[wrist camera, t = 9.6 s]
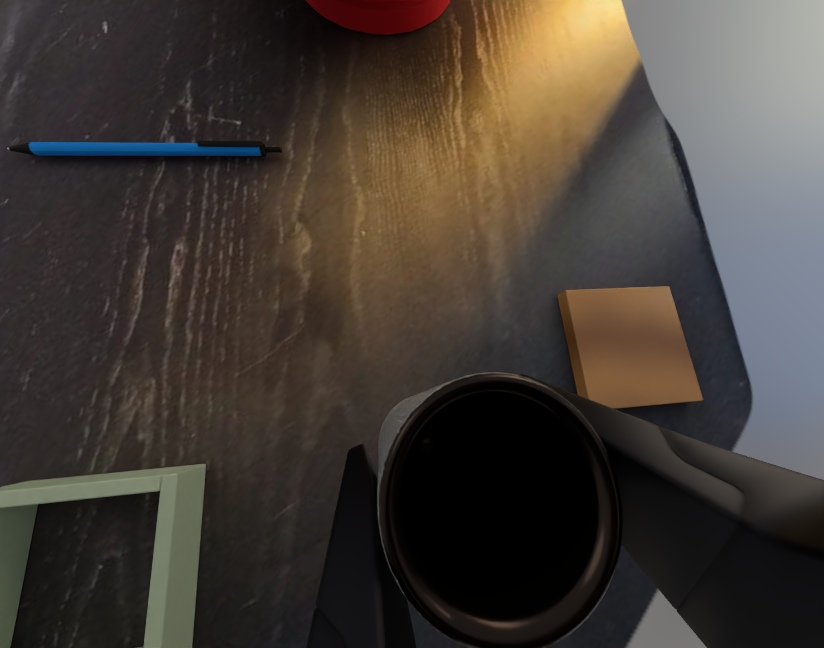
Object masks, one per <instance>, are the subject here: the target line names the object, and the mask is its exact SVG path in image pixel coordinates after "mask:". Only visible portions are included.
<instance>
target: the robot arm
mask: <svg viewBox="0 0 824 648" xmlns="http://www.w3.org/2000/svg"><path fill="white" fill-rule="evenodd" d="M519 376H523V377H526V378H529V379H532V380H534V381H537V382H539V383H541V384H543V385H545V386H547V387H549V388H551V389H552V390H554V391H556V392H557V393H558V394H560V395H561V396H563V397H564V398H565V399H567V400H568V401H569V402H570V403H571V404H572V405H574V406H575V407H576V408H577V409H578V410H579V411H580V412H581V413H582V414H583V416H584V417H585V418H586V419H587V420H588V422H589V423H590V424H591V426H592V427H593V428H594V430H595V431H596V433H597V434H598V436H599V437H600V439H601V441H602V443H603V445H604V446H605V448H606V450H607V452H608V455H609V457H610V459H611V462H612V464H613V467H614V470H615V473H616V476H617V480H618V484H619V489H620V494H621V501H622V512H623V531H622V542H621V545H622V546H623V547H624V548H625V549H626V551H627V552H628V553H629V554H630V555H631V557H632V558H633V559H634V560H635V561H636V563H637V564H638V565H639V566H640V567H641V569H642V570H643V571H644V572H645V573H646V575H647V576H648V577H649V578H650V579H651V581H652V582H653V583H654V584H655V585H656V587H657V588H658V589H659V590H660V591H661V593H662V594H663V595H664V596H665V597H666V599H667V600H668V601H669V602H670V603H671V604H672V606H673V607H674V608H675V609H677V612H678V613H679V614H680V616H681V617H682V618H683V619H684V620H685V622H686V623H687V624H688V625H689V626H690V628H691V629H692V630H693V631H694V632H695V634H696V635H697V636H698V637H699V638H700V640H701V641H702V642H703V643H704V644H705V646H706V647H707V648H824V480H822V479H818V478H815V477H811V476H808V475H805V474H801V473H799V472H795V471H792V470H789V469H786V468H782V467H779V466H776V465H773V464H770V463H766V462H763V461H760V460H757V459H754V458H750V457H747V456H744V455H740V454H737V453H734V452H731V451H728V450H725V449H722V448H719V447H716V446H713V445H710V444H707V443H704V442H701V441H698V440H696V439H693V438H690V437H687V436H685V435H682V434H679V433H676V432H674V431H671V430H669V429H666V428H663V427H658V426H657V425H655V424H653V423H650V422H647V421H645V420H642V419H639V418H637V417H634V416H632V415H629V414H626V413H624V412H621V411H618V410H616V409H613V408H611V407H608V406H605V405H603V404H600V403H597V402H595V401H592V400H590V399H587V398H584V397H582V396H579V395H576V394H574V393H571V392H569V391H566V390H563V389H561V388H558V387H555V386H553V385H550V384H547V383H545V382H542V381H540V380H537V379H534V378H532V377H529V376H526V375H523V374H521V375H519ZM377 488H378V479H377V476H376V473H375V470H374V467H373V464H372V462H371V459H370V457H369V455H368V453H367V450H366V448H365V446H364V445H363V444H360V445H358V446H355V447H353V448H351V449H350V450H349V451H348V454H347V459H346V464H345V469H344V473H343V478H342V483H341V487H340V492H339V497H338V502H337V506H336V511H335V516H334V520H333V525H332V530H331V535H330V539H329V544H328V549H327V553H326V558H325V563H324V568H323V572H322V577H321V582H320V587H319V591H318V596H317V601H316V607H317V608H316V609H315V610H314V614H313V619H312V624H311V628H310V633H309V637H308V642H307V646H306V648H416V643H415V638H414V633H413V628H412V623H411V618H410V613H409V608H408V603H407V599H406V597H405V596H404V594H403V593H402V591H401V589H400V588H399V586H398V584H397V582H396V580H395V578H394V576H393V574H392V572H391V570H390V567H389V565H388V562H387V559H386V556H385V553H384V549H383V546H382V541H381V537H380V530H379V523H378V510H377Z"/></svg>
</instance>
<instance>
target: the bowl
mask: <svg viewBox="0 0 824 648" xmlns="http://www.w3.org/2000/svg"><path fill="white" fill-rule="evenodd" d="M306 1H307V2H308V3H309V4H310V5H311V6H312V7H313V8H314V9H315V10H316V11H317V12H318V13H320V14H321V15H322V16H324V17H325V18H326V19H328V20H331V21H333V22H335V23H337V24H339V25H341V26H343V27H345V28H348V29H351V30H355V31H361V32H366V33H371V34H383V35H388V34H396V33H403V32H410V31H413V30H416V29H419V28H422V27H423V26H425V25H427V24H429V23H431V22H432V21H434V20H436V19H437V18H438V17H439V16H440V15H441V14H442V13H443V11H444V10H445V9H446V8H447V6H448V4H449V2H450V0H306Z"/></svg>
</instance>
